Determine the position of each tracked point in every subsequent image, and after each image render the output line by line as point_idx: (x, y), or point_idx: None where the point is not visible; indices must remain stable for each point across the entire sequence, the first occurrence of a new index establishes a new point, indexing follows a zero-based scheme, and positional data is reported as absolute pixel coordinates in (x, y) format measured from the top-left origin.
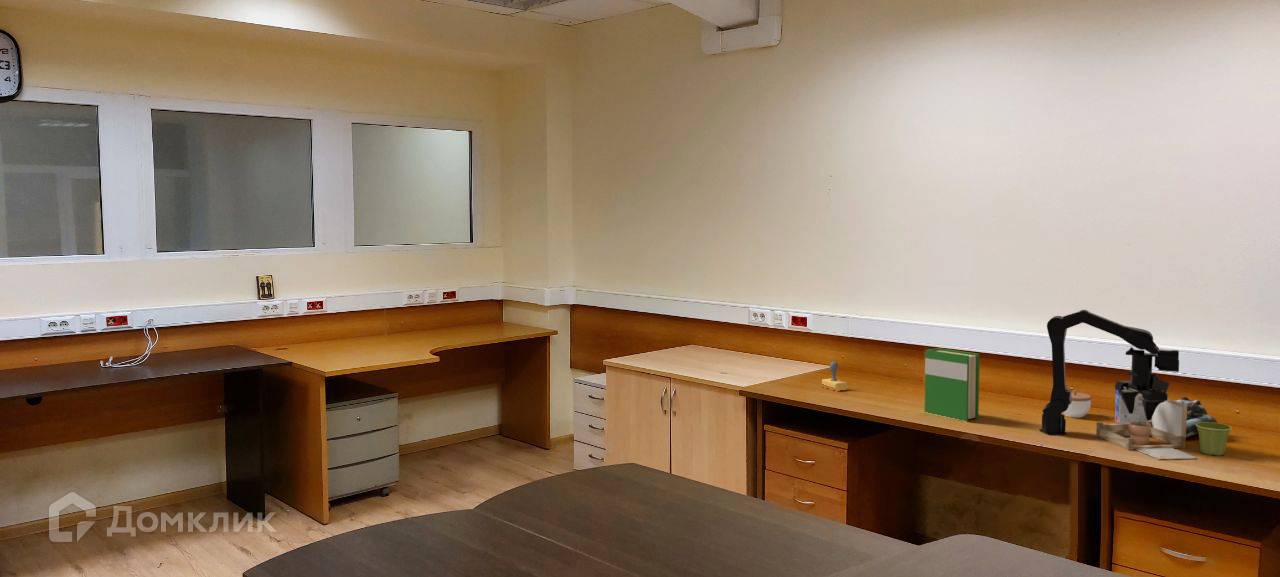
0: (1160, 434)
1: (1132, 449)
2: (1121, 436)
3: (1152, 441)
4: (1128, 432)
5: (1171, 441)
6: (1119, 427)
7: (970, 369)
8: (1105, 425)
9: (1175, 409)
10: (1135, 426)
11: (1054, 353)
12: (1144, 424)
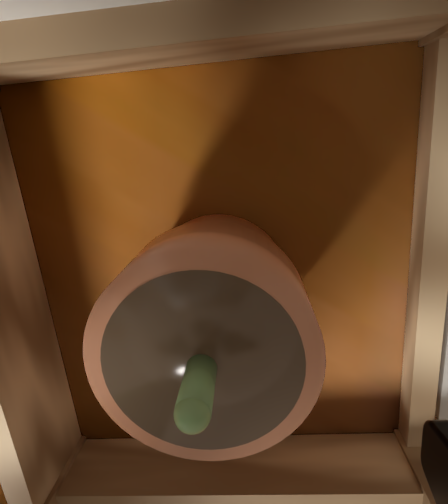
0: (144, 55)
1: None
2: (320, 498)
3: (200, 163)
4: (21, 274)
5: (325, 43)
6: (15, 373)
7: None
8: (33, 493)
9: None
10: (273, 435)
11: None
12: (241, 336)
